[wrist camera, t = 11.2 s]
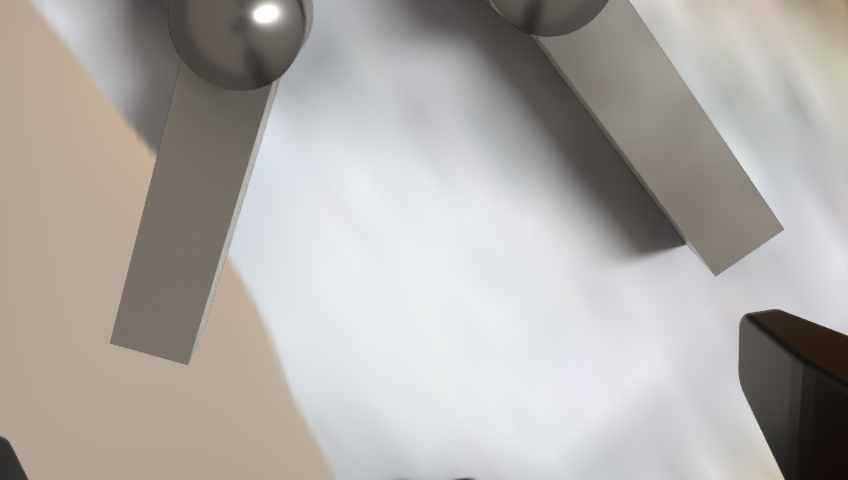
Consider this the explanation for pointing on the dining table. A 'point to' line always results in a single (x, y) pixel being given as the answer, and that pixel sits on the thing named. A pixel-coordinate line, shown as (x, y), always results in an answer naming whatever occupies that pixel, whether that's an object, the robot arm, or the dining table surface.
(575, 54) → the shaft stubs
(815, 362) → the robot arm
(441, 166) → the dining table surface
